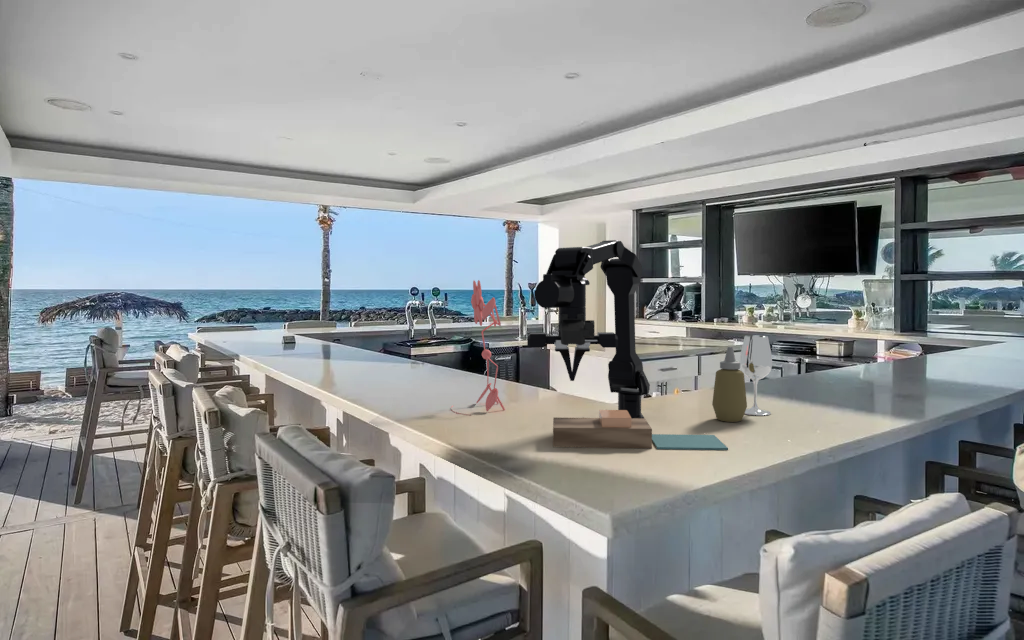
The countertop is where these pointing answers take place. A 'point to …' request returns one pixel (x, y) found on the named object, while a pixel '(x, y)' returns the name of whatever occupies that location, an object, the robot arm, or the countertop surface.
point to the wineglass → (756, 365)
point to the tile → (615, 418)
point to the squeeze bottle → (729, 390)
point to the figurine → (479, 313)
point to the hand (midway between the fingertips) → (572, 380)
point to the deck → (600, 434)
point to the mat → (687, 442)
